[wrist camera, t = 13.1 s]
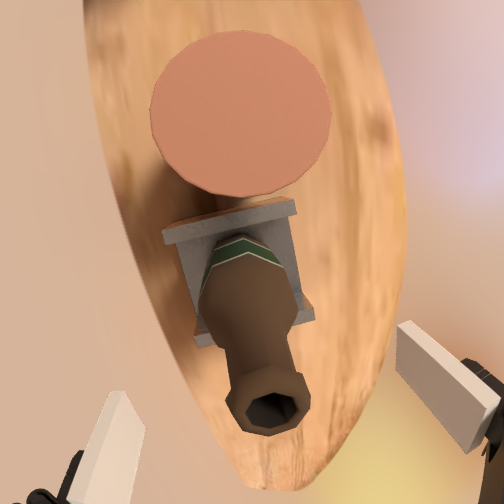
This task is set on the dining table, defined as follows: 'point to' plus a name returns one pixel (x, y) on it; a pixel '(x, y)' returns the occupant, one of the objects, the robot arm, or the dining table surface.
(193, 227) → the bracket
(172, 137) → the coffee jar
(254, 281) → the beer bottle
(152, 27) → the dining table surface
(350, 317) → the dining table surface
